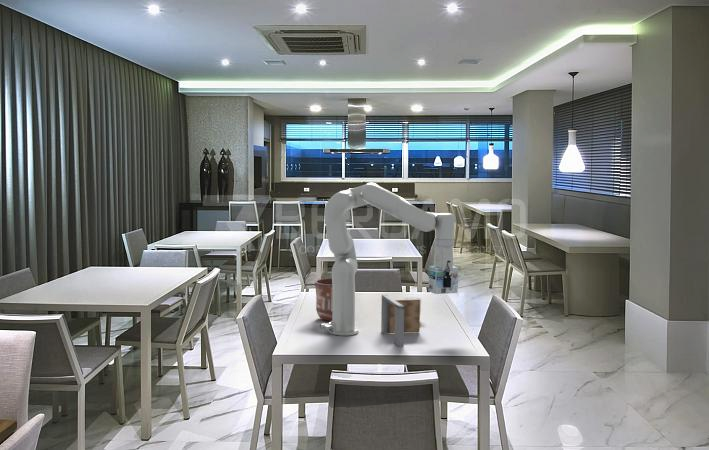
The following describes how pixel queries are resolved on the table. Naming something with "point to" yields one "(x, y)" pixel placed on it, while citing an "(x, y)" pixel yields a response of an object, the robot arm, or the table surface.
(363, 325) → the table surface
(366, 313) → the table surface
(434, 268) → the light bulb box
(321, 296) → the pottery
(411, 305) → the door
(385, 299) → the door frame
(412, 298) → the white cup
